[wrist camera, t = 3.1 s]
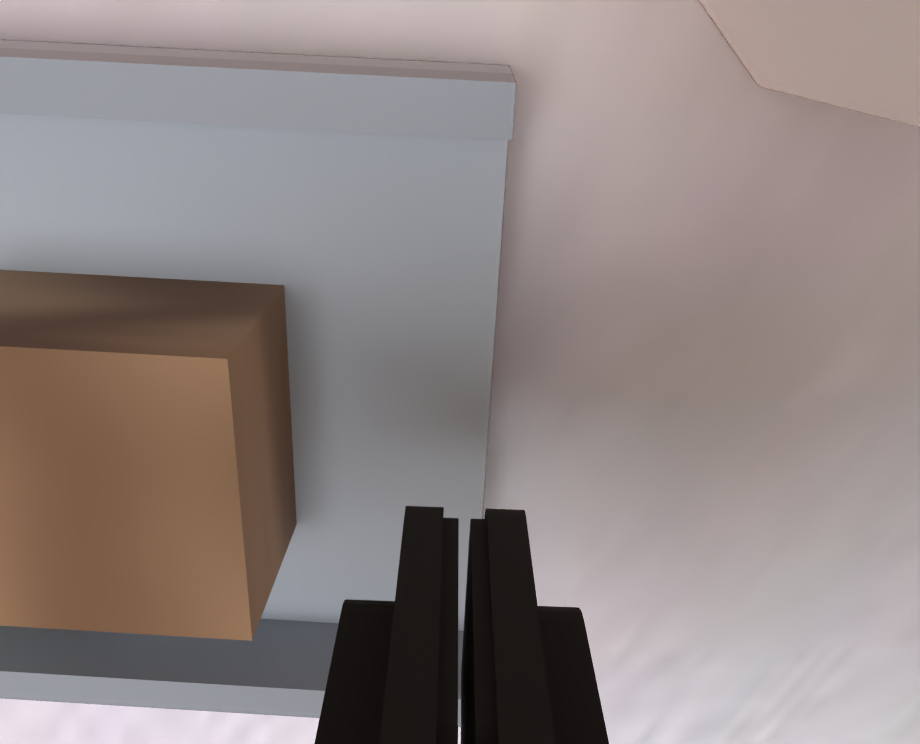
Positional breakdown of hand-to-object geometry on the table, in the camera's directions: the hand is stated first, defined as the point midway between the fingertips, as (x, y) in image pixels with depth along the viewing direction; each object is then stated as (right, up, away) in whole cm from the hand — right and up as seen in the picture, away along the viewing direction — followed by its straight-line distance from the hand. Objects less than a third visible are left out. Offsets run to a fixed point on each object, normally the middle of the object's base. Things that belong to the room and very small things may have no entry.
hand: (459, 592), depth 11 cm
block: (-6, +2, +5) cm, 8 cm away
